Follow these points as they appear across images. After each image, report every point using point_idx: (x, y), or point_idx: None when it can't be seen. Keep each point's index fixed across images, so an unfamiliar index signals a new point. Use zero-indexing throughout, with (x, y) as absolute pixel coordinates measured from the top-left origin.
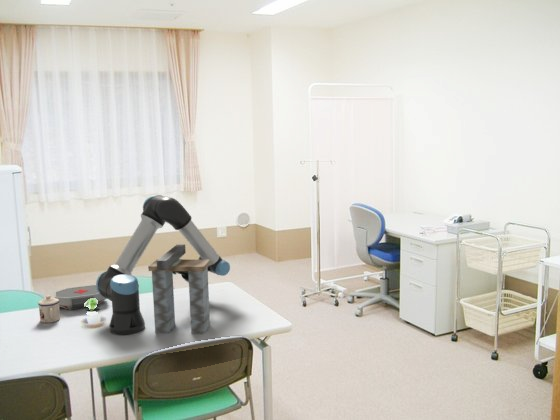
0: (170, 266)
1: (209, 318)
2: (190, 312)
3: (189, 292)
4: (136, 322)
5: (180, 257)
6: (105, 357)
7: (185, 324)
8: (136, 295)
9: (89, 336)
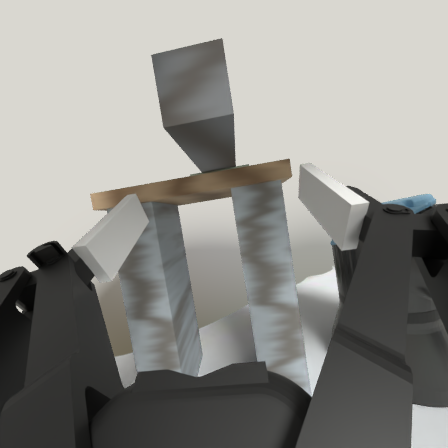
0: None
1: None
2: (193, 306)
3: (185, 258)
4: (335, 318)
5: (197, 166)
6: (303, 283)
7: None
8: (334, 256)
9: None
